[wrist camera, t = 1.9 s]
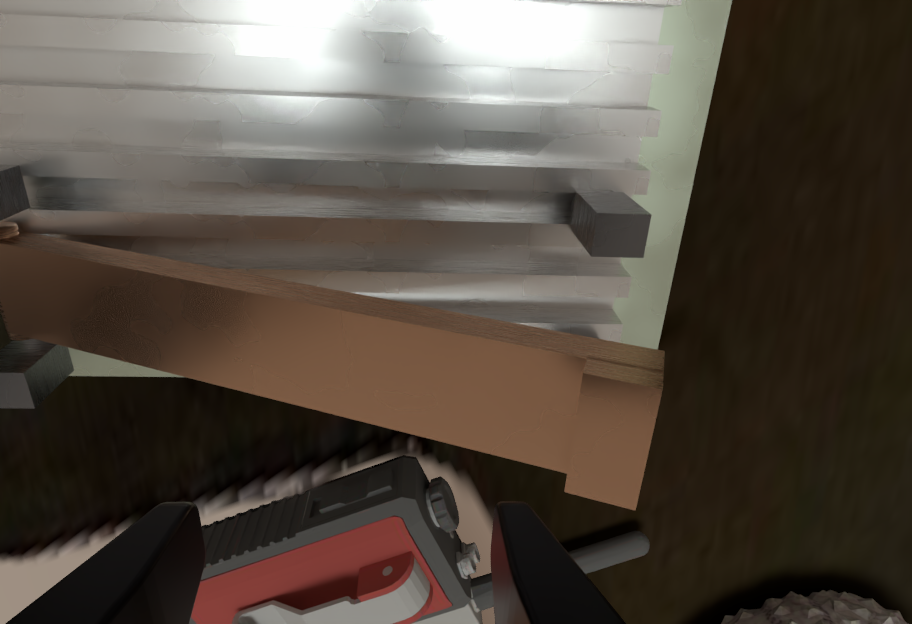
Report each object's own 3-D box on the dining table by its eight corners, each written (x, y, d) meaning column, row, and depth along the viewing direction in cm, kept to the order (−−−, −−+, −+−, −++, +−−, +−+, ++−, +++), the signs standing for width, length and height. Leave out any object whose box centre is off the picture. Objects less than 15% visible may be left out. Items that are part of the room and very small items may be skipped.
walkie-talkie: (248, 659, 29) (643, 533, 27) (220, 759, 25) (682, 621, 23) (143, 538, 25) (591, 380, 23) (91, 633, 21) (626, 453, 19)
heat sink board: (40, 366, 21) (-112, 498, 15) (-244, -596, 12) (-938, -1251, 6) (645, 373, 22) (725, 496, 16) (822, -482, 13) (1155, -911, 7)
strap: (31, 323, 15) (-20, 345, 14) (0, 219, 14) (-58, 235, 13) (637, 471, 11) (633, 519, 10) (666, 340, 10) (665, 378, 9)
